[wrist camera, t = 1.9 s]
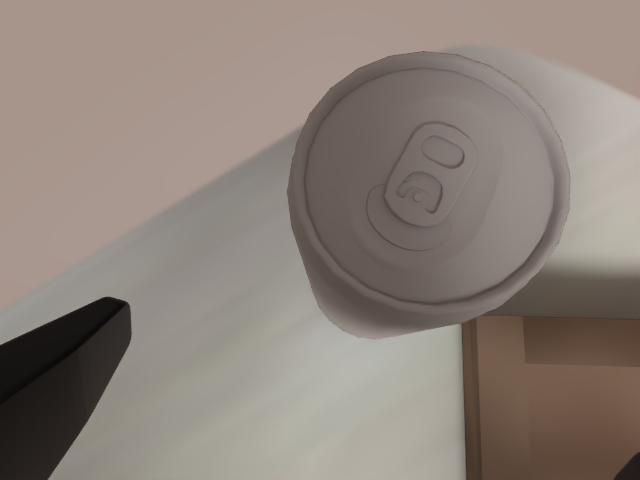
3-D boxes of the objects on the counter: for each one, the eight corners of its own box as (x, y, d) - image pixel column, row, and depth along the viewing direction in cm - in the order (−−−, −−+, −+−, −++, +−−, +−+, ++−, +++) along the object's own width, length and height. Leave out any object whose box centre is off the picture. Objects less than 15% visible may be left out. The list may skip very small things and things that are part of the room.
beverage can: (289, 300, 20) (226, 229, 8) (348, 198, 21) (370, -1, 9) (397, 362, 19) (501, 384, 7) (453, 255, 20) (627, 122, 8)
